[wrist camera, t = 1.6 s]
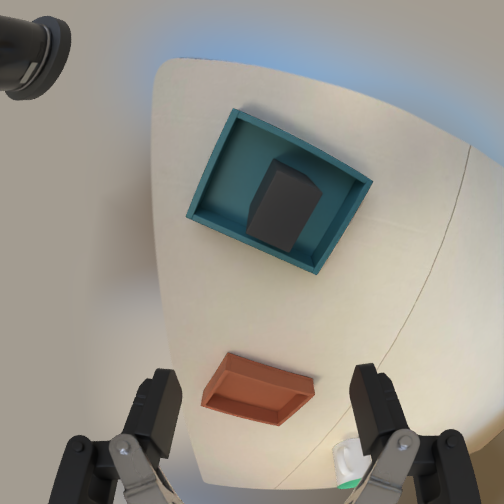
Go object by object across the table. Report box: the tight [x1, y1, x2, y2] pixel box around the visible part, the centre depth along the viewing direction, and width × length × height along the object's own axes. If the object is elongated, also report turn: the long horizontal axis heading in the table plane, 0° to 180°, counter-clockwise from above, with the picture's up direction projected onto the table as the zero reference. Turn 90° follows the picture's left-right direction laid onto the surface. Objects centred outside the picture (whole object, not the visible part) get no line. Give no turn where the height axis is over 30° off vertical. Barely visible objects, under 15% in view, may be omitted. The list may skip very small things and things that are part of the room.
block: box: [246, 159, 323, 253], centre depth 22 cm, size 4×5×7 cm
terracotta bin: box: [201, 353, 315, 426], centre depth 37 cm, size 13×10×3 cm
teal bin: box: [186, 108, 373, 275], centre depth 24 cm, size 13×10×3 cm
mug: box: [332, 438, 371, 489], centre depth 43 cm, size 12×8×10 cm, turn 39°
